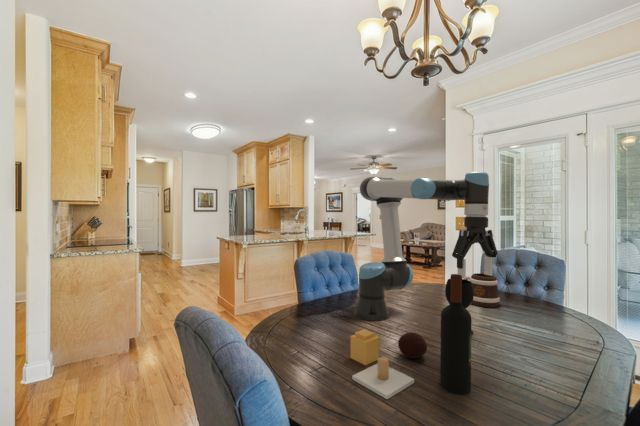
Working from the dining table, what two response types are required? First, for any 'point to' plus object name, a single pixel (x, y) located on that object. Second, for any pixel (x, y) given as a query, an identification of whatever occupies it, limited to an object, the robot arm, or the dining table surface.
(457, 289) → the wine bottle
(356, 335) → the orange block
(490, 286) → the mug
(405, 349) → the potato
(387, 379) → the post plate
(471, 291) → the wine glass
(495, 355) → the dining table surface
